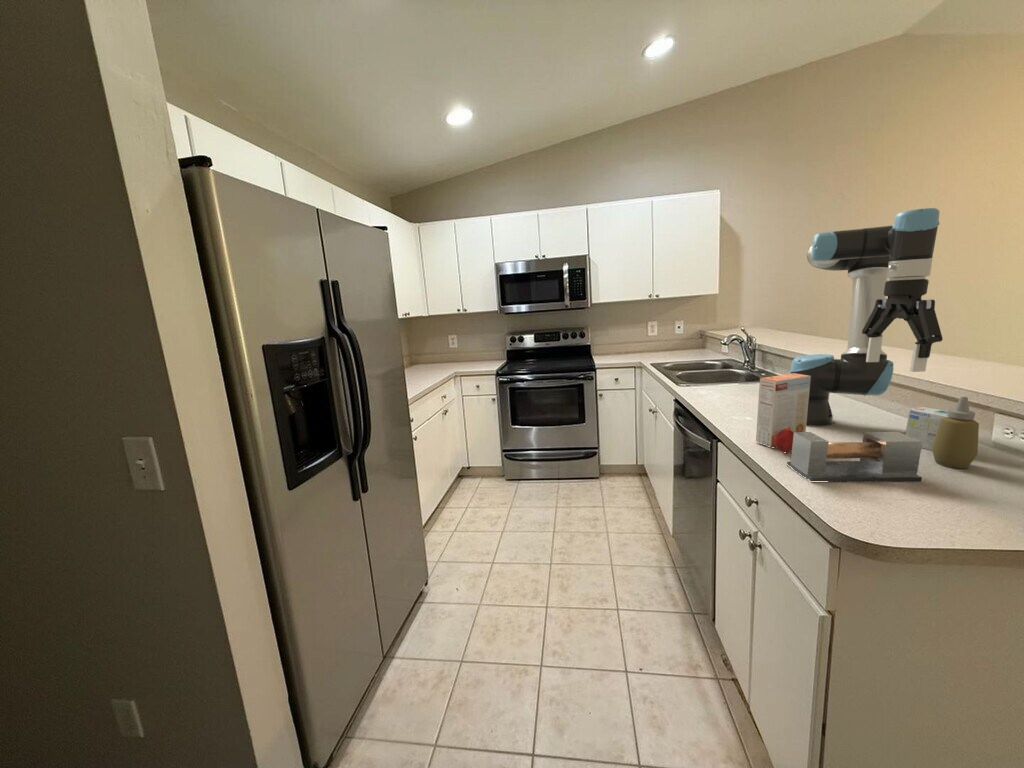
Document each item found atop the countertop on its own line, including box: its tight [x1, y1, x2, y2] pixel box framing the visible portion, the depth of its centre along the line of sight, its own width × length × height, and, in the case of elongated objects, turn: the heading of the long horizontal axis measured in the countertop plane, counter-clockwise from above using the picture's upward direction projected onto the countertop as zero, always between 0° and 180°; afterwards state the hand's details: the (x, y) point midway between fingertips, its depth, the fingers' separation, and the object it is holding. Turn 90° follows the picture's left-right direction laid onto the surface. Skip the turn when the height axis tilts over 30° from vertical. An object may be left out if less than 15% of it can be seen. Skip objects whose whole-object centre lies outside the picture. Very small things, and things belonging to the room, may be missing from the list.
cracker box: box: [755, 373, 811, 448], centre depth 123 cm, size 14×6×21 cm, turn 108°
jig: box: [786, 431, 923, 483], centre depth 101 cm, size 10×25×10 cm, turn 85°
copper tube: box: [826, 441, 882, 460], centre depth 101 cm, size 4×18×4 cm, turn 85°
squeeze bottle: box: [931, 396, 980, 469], centre depth 103 cm, size 8×8×18 cm
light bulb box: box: [905, 406, 948, 451], centre depth 115 cm, size 11×7×11 cm, turn 17°
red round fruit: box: [774, 427, 794, 454], centre depth 116 cm, size 6×6×8 cm
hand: (893, 366), depth 101 cm, fingers open, 13 cm apart
